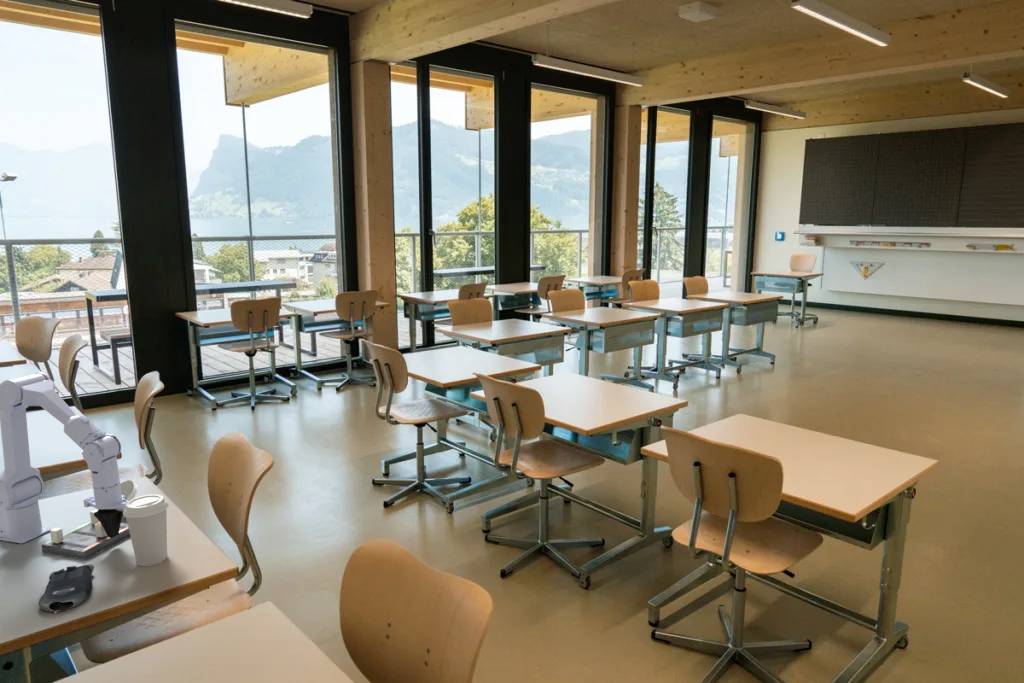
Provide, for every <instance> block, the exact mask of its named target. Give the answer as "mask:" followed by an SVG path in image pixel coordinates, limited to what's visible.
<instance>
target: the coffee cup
mask: <svg viewBox="0 0 1024 683" xmlns="http://www.w3.org/2000/svg"><path fill="white" fill-rule="evenodd" d="M168 507H169V503H168V501H167V499H165V498H164V496H163V495H161V494H157V493H155V494H144V495H140V496H135V497H134V498H133V499H132V500H130V501H128V502H127V503H126V506H125V508H124V510H123V517H125V520H126V524H128V528H129V532H130V536H129V537H130V540H131V544H132V548H133V552H134V556H135V562H136V565H138V566H140V567H150V566H155V565H159V564H160V563H162V562H164V561H165V560H166V559H167V558H168V537H167V534H168V531H167V528H168V527H167V524H168V522H167V521H168V520H167V509H168Z"/></svg>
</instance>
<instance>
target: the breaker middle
mask: <svg viewBox="0 0 1024 683" xmlns="http://www.w3.org/2000/svg"><path fill="white" fill-rule="evenodd" d="M95 532H96V537H104V536H106V535H107V534H106V532H105V530H104V528H103V526H102V524H101V523H100V522H98V523H97V524H95Z"/></svg>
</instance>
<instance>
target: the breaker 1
mask: <svg viewBox="0 0 1024 683" xmlns="http://www.w3.org/2000/svg"><path fill="white" fill-rule="evenodd" d="M49 533H50V540H51V541H52V542H53V543H60V542H62V541H64V539H63V534H64V533H63V528H61V527H53V528H51V530H50V531H49Z"/></svg>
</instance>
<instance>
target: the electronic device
mask: <svg viewBox="0 0 1024 683" xmlns="http://www.w3.org/2000/svg"><path fill="white" fill-rule="evenodd" d="M94 569H95V566H94V564H91V563H88V564H84V565H80V566H76V565H72V566H67V567H66V569H65V568H61V569H59V570H56V571H55V570H54V571H52V572H51V573H50V574H49V576H48V577H49V581H48V582H47V585H46V588H45V591H44V592H43V594H42V596H41V597H40V599H39V600H38V606H39V607H40V609H42V611H45V612H50V613H52V612H53V613H54V614H57V613H59V612H60V611H61V612H62V611H65V610H70V609H72V608H74V607H77V606H78V605H80V604H82V603H83V602H85V601H86V600H87V599H88V597H89V596H90V595H91V591H92V588H93V577H92V575H93V573H94ZM72 603H73V604H72ZM51 604H54V606H55V607H64V606H68V605H70V604H72V605H71V606H70V607H68V608H64V609H61V610H60V609H59V610H58V609H57V610H53V609H52V608H50V605H51Z"/></svg>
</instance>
